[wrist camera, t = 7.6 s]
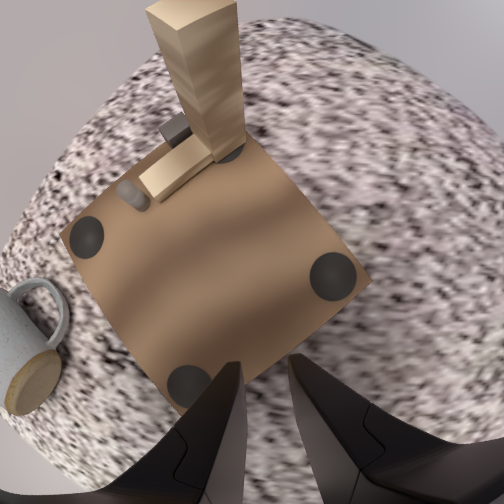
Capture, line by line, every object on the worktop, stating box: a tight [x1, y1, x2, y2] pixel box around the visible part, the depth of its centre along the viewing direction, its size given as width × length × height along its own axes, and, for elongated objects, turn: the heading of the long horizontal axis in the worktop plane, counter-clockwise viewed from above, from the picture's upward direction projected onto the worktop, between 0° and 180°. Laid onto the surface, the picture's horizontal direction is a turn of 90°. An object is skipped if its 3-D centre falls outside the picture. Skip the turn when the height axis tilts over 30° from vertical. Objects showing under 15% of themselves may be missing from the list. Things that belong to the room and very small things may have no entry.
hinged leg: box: [139, 0, 246, 203], centre depth 14 cm, size 7×3×12 cm, turn 129°
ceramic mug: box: [0, 277, 69, 416], centre depth 16 cm, size 11×8×8 cm
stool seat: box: [59, 112, 373, 416], centre depth 18 cm, size 17×16×4 cm
